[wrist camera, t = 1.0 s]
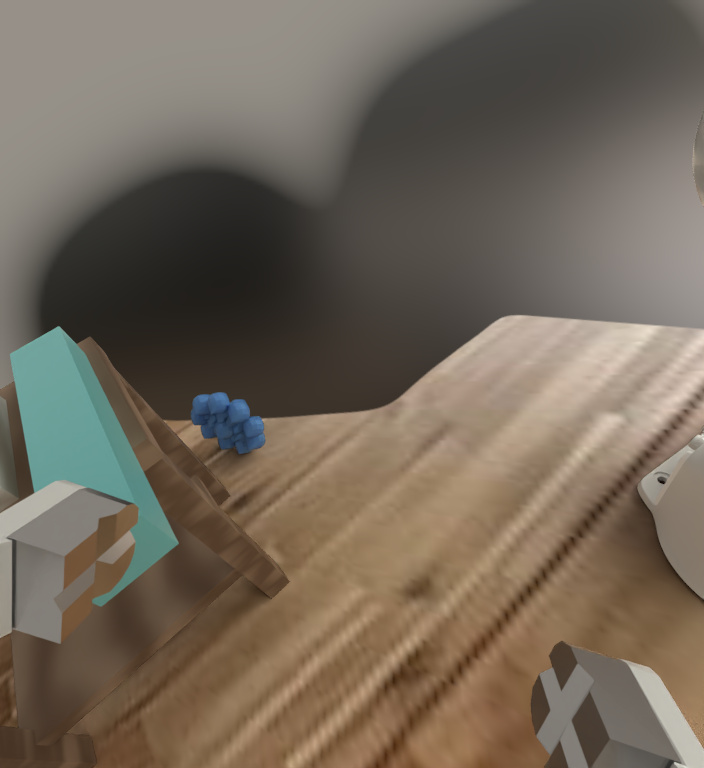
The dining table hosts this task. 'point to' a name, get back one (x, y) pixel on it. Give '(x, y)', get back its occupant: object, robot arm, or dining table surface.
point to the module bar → (84, 441)
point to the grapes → (228, 422)
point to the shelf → (138, 599)
